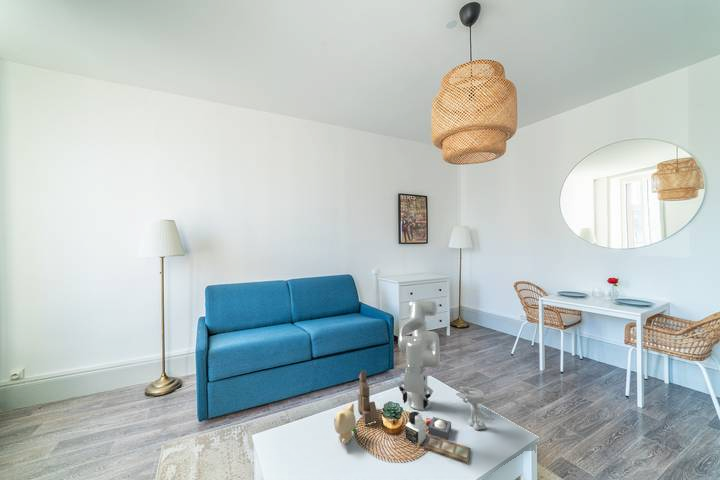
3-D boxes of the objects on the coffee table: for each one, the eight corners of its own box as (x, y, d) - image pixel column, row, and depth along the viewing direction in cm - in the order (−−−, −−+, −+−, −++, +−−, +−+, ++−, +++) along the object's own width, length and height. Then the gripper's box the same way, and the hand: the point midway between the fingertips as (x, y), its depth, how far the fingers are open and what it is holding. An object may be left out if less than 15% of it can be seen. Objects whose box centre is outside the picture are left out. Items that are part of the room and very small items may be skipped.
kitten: (347, 426, 143) (346, 396, 143) (363, 433, 137) (362, 403, 138) (327, 443, 131) (327, 411, 131) (344, 452, 125) (343, 418, 125)
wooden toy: (377, 423, 145) (376, 375, 145) (364, 426, 143) (364, 377, 143) (368, 407, 160) (368, 363, 160) (357, 409, 158) (356, 364, 158)
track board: (425, 449, 126) (425, 446, 126) (430, 437, 134) (430, 434, 134) (467, 464, 117) (467, 461, 117) (470, 450, 125) (470, 447, 125)
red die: (426, 426, 142) (426, 421, 142) (426, 423, 144) (426, 417, 144) (432, 427, 141) (431, 421, 141) (432, 424, 144) (431, 418, 144)
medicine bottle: (405, 439, 133) (404, 414, 133) (413, 432, 138) (412, 407, 138) (418, 447, 128) (417, 420, 128) (426, 438, 133) (425, 413, 133)
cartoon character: (501, 440, 131) (500, 399, 131) (482, 446, 127) (481, 403, 127) (465, 410, 155) (465, 375, 155) (448, 415, 151) (447, 378, 151)
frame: (400, 442, 131) (400, 441, 131) (408, 428, 140) (408, 428, 140) (423, 450, 125) (423, 449, 125) (430, 435, 135) (430, 435, 135)
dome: (433, 432, 137) (433, 422, 137) (436, 426, 142) (435, 415, 142) (444, 436, 134) (444, 425, 134) (446, 429, 139) (446, 419, 139)
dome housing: (428, 434, 136) (428, 426, 136) (433, 423, 144) (433, 416, 144) (447, 440, 132) (447, 432, 132) (451, 428, 140) (451, 421, 140)
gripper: (434, 368, 132) (435, 405, 132) (400, 361, 141) (400, 396, 140) (430, 374, 126) (431, 413, 125) (394, 367, 134) (395, 403, 133)
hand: (415, 404), depth 132 cm, fingers open, 9 cm apart
